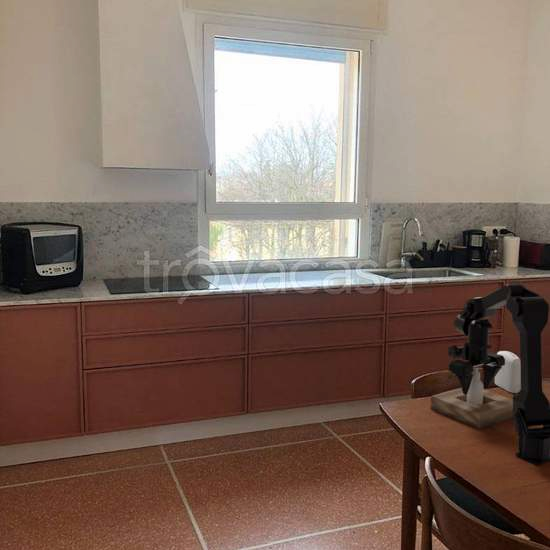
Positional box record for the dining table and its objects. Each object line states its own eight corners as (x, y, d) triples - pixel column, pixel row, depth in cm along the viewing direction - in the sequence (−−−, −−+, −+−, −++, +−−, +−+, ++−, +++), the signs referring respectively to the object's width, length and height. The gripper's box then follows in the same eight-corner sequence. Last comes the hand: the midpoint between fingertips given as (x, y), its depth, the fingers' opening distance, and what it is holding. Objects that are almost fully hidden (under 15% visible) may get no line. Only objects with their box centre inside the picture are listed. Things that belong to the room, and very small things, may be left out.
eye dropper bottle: (481, 403, 180) (483, 365, 178) (482, 410, 175) (484, 371, 173) (466, 402, 181) (468, 364, 180) (466, 409, 176) (468, 370, 174)
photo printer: (492, 383, 203) (494, 348, 202) (503, 382, 204) (505, 347, 203) (510, 394, 194) (512, 357, 192) (522, 393, 194) (524, 356, 193)
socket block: (519, 415, 176) (520, 402, 175) (479, 428, 166) (480, 415, 166) (470, 397, 191) (470, 385, 190) (430, 408, 181) (431, 395, 181)
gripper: (476, 330, 187) (474, 378, 189) (434, 338, 177) (433, 389, 179) (507, 338, 178) (504, 388, 180) (465, 347, 168) (462, 400, 170)
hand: (475, 391), depth 177 cm, fingers open, 9 cm apart
